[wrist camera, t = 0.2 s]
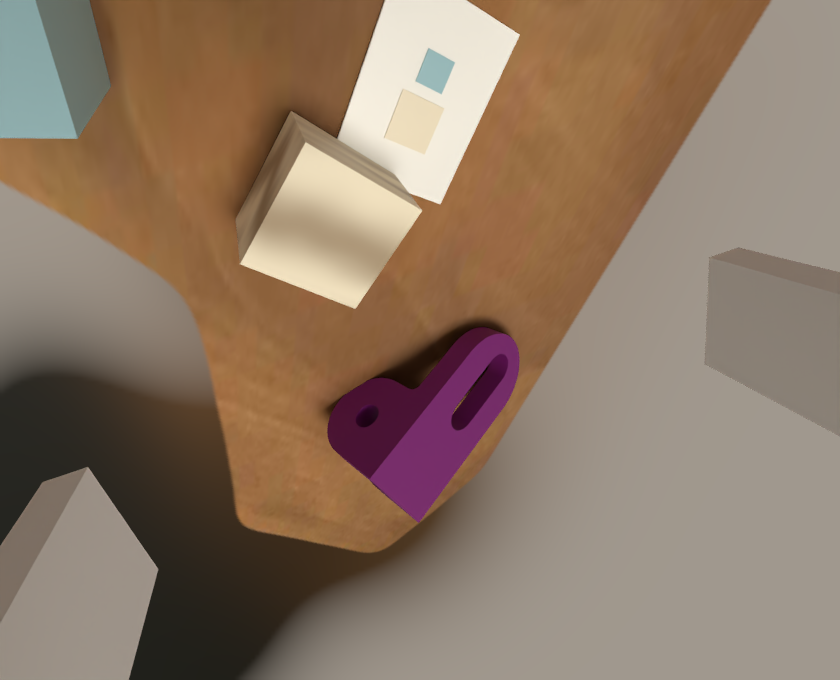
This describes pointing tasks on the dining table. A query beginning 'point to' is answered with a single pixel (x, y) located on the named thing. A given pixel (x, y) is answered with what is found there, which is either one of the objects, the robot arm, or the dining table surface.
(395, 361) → the dining table surface
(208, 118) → the dining table surface
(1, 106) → the teal brick
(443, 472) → the mounting bracket
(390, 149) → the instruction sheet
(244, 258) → the birch base brick
